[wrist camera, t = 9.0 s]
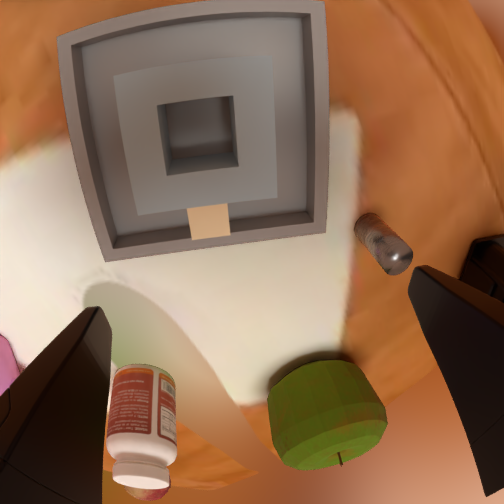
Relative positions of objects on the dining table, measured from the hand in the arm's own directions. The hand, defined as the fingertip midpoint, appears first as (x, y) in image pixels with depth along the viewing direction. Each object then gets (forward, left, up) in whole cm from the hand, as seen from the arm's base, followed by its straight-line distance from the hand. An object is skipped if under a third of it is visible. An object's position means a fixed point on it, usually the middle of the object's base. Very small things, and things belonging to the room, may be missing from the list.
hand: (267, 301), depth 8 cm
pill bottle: (+11, +19, -12) cm, 25 cm away
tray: (+2, -3, -12) cm, 12 cm away
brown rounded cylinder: (-9, +5, -12) cm, 16 cm away
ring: (+1, -3, -11) cm, 11 cm away
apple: (-6, +23, -12) cm, 27 cm away
